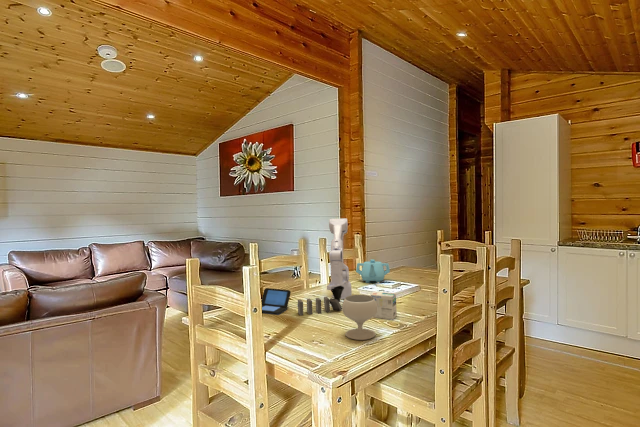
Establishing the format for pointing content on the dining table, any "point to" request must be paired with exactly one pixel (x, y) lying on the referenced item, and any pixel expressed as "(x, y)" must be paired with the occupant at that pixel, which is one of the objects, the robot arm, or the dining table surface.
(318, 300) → the domino
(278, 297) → the handheld game console
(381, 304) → the light bulb box
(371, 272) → the teapot
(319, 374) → the dining table surface
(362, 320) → the chalice
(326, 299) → the domino
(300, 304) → the domino
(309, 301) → the domino
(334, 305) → the domino
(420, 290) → the dining table surface
